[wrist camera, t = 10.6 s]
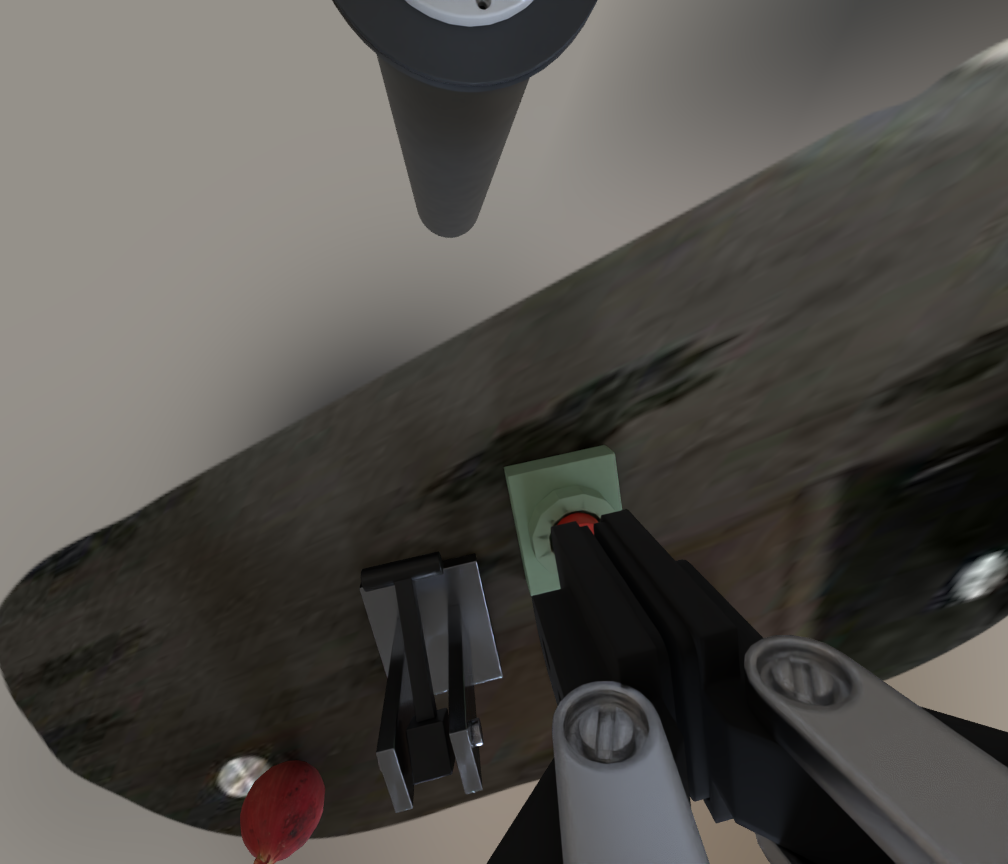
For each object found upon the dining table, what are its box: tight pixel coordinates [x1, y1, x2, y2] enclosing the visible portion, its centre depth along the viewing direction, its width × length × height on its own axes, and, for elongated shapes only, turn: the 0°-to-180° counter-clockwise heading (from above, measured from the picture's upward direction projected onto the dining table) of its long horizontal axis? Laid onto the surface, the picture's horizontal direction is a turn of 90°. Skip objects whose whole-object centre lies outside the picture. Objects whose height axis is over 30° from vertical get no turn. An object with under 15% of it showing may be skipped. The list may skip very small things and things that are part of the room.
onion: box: [240, 760, 325, 864], centre depth 36 cm, size 6×6×8 cm
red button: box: [557, 513, 599, 534], centre depth 33 cm, size 4×4×2 cm
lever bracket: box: [359, 553, 503, 813], centre depth 32 cm, size 11×9×13 cm
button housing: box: [504, 445, 622, 596], centre depth 35 cm, size 10×8×4 cm
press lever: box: [361, 552, 455, 784], centre depth 29 cm, size 12×5×2 cm
